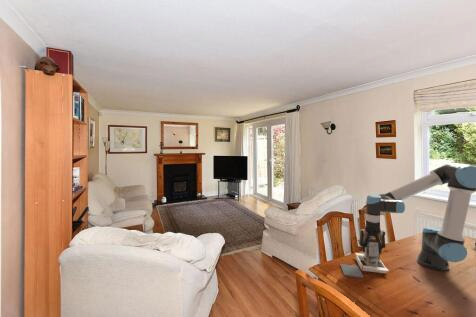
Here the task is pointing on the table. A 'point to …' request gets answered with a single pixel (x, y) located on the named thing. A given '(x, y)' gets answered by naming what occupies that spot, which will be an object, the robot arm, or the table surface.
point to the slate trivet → (351, 271)
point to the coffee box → (372, 252)
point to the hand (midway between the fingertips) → (371, 257)
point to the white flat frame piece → (370, 268)
